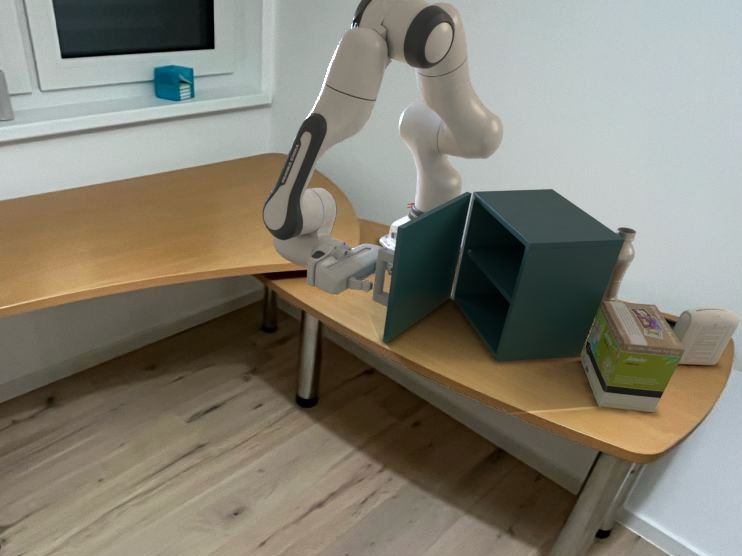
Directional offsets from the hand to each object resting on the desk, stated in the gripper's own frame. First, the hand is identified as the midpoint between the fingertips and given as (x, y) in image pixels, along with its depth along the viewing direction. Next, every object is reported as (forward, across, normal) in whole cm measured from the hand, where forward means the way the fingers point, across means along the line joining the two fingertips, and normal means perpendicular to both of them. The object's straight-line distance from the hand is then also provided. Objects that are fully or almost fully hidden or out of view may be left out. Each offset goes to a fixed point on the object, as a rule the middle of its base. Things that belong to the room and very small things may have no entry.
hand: (384, 279), depth 118 cm
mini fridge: (+20, -22, -12) cm, 33 cm away
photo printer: (+53, -35, -13) cm, 65 cm away
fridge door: (+1, -10, -12) cm, 16 cm away
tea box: (+45, -16, -13) cm, 49 cm away
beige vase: (+32, -42, -13) cm, 55 cm away
